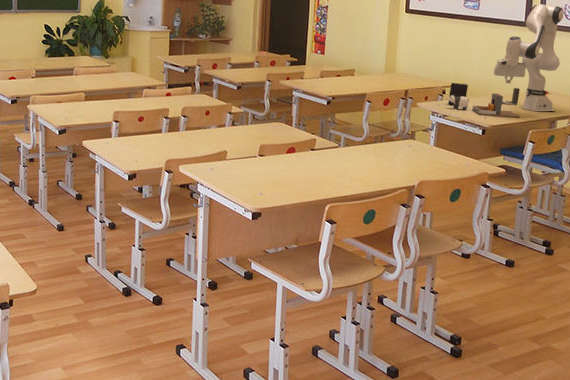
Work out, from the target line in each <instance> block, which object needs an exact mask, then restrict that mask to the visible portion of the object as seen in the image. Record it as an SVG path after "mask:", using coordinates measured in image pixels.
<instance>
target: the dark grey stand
mask: <svg viewBox="0 0 570 380" xmlns="http://www.w3.org/2000/svg"><path fill="white" fill-rule="evenodd" d="M503 98H504V96H503V95H501V94H499V93H492V94H491V101H490V103H492V104H493V105H494V110H493V111H487V110H488V106H483V105H473V106H472V109H471V110H472V112H474V113H476V114H477V115H479V116H485V117H486V116H487V117H500V118H501V117H502V118H514V119H515V118H517V119H520V116H519V115H518V114H517V113H515V112H513V111H512V110H509V111H508V110H502V107H503V106H502V105H503V104H502V101H504V100H503Z"/></svg>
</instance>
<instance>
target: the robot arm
mask: <svg viewBox="0 0 570 380" xmlns="http://www.w3.org/2000/svg"><path fill="white" fill-rule="evenodd" d="M564 11H565V10H564V9H563V8H562V7H560V6H559V5H552V4H551V5H550V4H542V3H541V4H540V3H539V4H534V5H533V6H532V7H531V9H530V12H529V14H528V15H527V18H526V19H525V20H526V21H525V26H526V28H527V29H528V31H529V32H531V33H533V34H534V35H535V37H534V40H533V41H532V42H525V41H522V38H521V37H520V36H510V37H509V38H508V40H507V43H506V50H505V55H504V58H501V59H498V60H496V64H495V66H494V70H493V75H494V76H498V77H504V79H505V84H511V83H512V81H513V79H514V78H524V77H525V76H526V70H527V73H528V84H527V88H526V91H525V98H524V102H523V104H522V107H521V108H522V109H524V110H528V111H533V112H537V111H553V109H554V108H553V107H554V106H553V101H551V100H550V98H549V97H548V96H547V95H549V94H550V93H549V91H548V90H545V87H546V77H545V76H544V75H542V74H541V71H547V72H550V71H551V72H553V71H556V70H557V69H559V66H560V63H561V61H560V58H559V57H558V56H557V55H556V53H555V50H554V49H555V47H554V45H555V39H556V35H557V31H558V24H559V23H560V22H561V21H562V20H563V19H564V18H563V17H564V13H565V12H564ZM540 49H542V53H541V52H540ZM520 58H522V62H519V61H520V60H519V59H520ZM540 70H541V71H540ZM509 77H510V78H509ZM508 78H509V79H508Z"/></svg>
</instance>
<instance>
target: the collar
mask: <svg viewBox="0 0 570 380" xmlns="http://www.w3.org/2000/svg"><path fill="white" fill-rule="evenodd" d="M487 107H488V110H487V111H493V110H494V105H493V104H492V103H491V102H490V103H488V105H487Z"/></svg>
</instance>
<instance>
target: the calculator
mask: <svg viewBox="0 0 570 380" xmlns="http://www.w3.org/2000/svg"><path fill="white" fill-rule="evenodd" d="M468 89H469V86H468V84H467V83H457V82H456V83H455V82H451V84H450V89H449V97H450V96H453V95H454V97H466V98H467V92H468ZM449 97H448V98H449ZM448 105H449V106H453V105H454V103H453V102H450V101H449V100H448Z"/></svg>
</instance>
